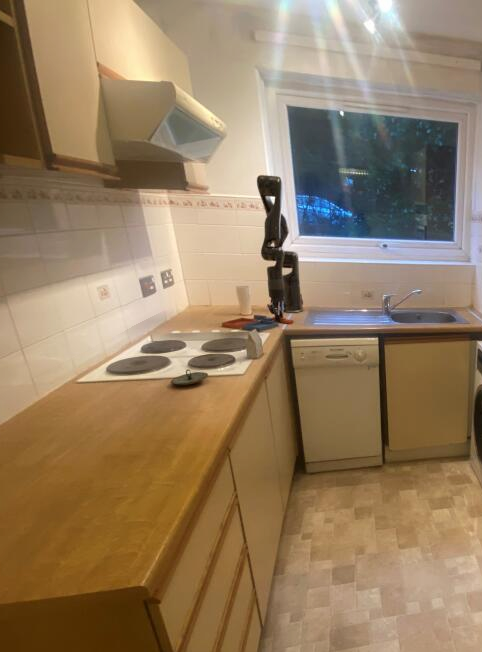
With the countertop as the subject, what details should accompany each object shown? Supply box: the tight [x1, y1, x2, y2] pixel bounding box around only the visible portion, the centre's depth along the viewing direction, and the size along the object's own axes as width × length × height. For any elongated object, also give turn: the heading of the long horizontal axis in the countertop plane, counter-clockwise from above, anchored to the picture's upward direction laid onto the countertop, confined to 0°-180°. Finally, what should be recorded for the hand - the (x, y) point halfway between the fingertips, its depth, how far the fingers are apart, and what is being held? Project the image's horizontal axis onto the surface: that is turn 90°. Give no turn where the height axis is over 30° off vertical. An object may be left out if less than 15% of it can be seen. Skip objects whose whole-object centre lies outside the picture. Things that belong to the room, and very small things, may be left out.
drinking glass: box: [235, 285, 253, 316], centre depth 234 cm, size 7×7×15 cm
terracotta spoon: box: [272, 316, 295, 324], centre depth 223 cm, size 10×3×2 cm, turn 73°
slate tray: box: [241, 320, 279, 333], centre depth 211 cm, size 13×10×2 cm
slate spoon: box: [253, 314, 274, 322], centre depth 226 cm, size 10×3×2 cm, turn 73°
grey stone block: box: [244, 329, 264, 359], centre depth 168 cm, size 4×7×10 cm, turn 5°
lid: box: [170, 369, 209, 386], centre depth 139 cm, size 11×10×5 cm
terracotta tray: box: [221, 317, 259, 330], centre depth 214 cm, size 13×10×2 cm
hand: (279, 321), depth 224 cm, fingers closed on terracotta spoon, 2 cm apart
